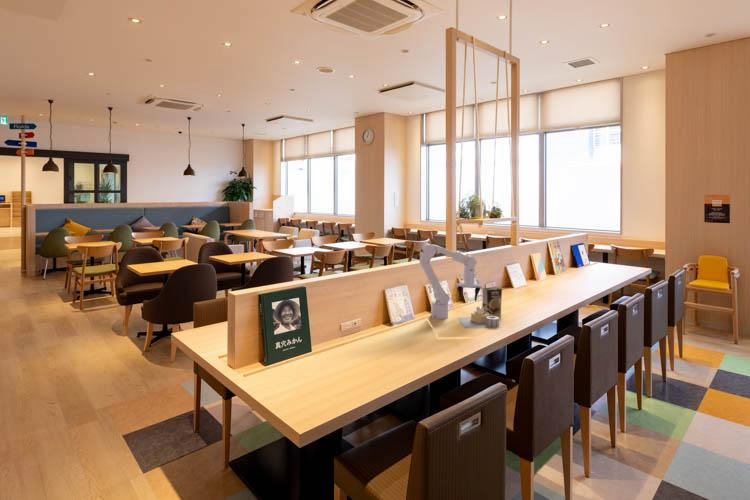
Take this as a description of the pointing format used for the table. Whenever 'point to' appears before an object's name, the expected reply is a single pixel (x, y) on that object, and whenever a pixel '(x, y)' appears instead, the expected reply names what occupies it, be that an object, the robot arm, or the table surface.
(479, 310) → the metal cylinder
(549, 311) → the table surface
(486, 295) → the coffee box
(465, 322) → the fitting board
